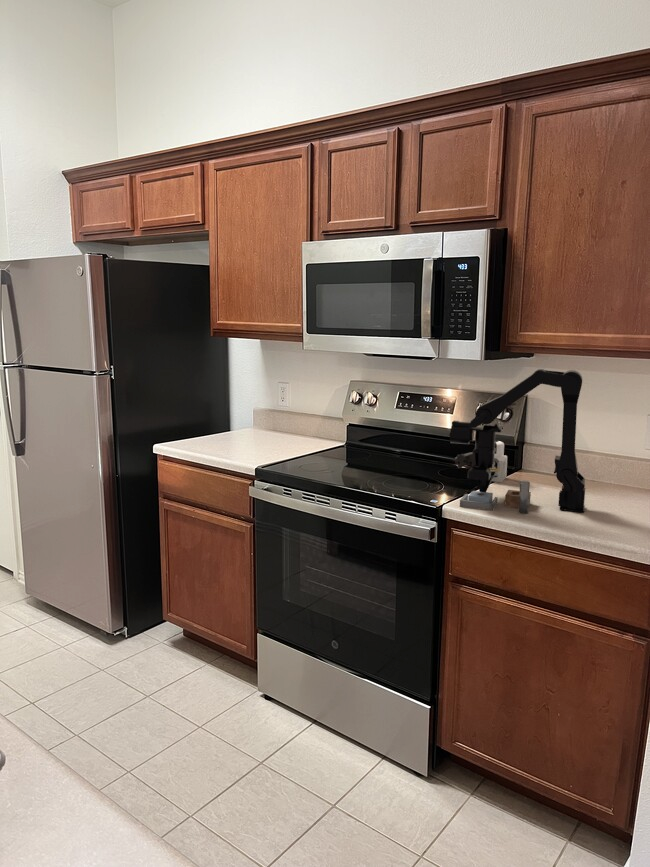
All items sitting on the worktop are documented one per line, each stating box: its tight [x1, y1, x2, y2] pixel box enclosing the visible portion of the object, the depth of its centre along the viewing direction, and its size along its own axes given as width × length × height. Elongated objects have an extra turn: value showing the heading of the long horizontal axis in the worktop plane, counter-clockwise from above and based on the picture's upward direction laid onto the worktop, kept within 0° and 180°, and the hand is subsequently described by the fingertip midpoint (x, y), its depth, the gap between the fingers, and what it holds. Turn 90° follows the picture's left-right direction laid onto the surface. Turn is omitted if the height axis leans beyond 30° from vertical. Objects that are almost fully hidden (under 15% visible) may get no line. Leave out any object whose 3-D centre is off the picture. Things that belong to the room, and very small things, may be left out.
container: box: [490, 440, 508, 483], centre depth 223 cm, size 8×8×13 cm
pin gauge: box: [518, 480, 531, 515], centre depth 186 cm, size 3×3×9 cm
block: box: [467, 490, 494, 503], centre depth 196 cm, size 6×6×3 cm
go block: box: [504, 489, 531, 509], centre depth 194 cm, size 6×6×4 cm
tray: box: [459, 493, 499, 511], centre depth 194 cm, size 10×8×2 cm
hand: (482, 495), depth 199 cm, fingers closed
